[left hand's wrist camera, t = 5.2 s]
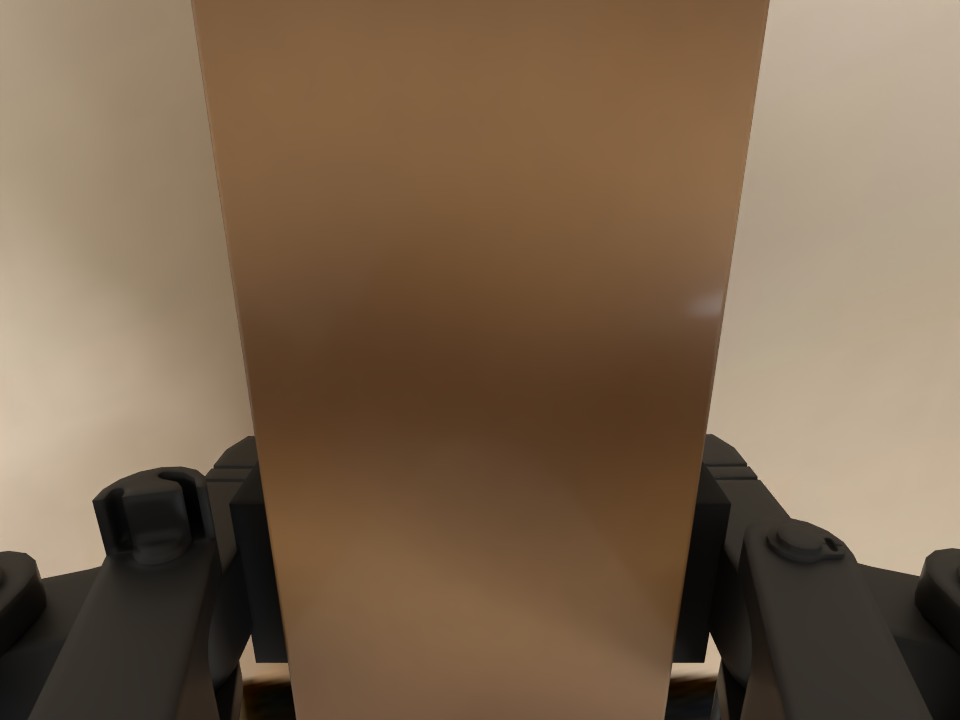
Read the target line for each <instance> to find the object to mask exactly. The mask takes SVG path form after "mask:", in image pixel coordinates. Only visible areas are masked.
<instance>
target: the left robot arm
mask: <svg viewBox="0 0 960 720" xmlns="http://www.w3.org/2000/svg"><path fill="white" fill-rule="evenodd" d="M92 502H93V506H94V509H95V513H96V517H97V521H98V525H99V528H100V532H101V536H102V540H103V544H104V547H105V551H106V555H107V556H106V558H105V560H104V562H103V564H102V566H100V567H96V568H93V569H89V570H84V571H79V572H74V573H69V574H64V575H59V576H54V577H49V578H44V579H41V577H40V573H39V570H38V567H37V564H36V561H35V560H34V559H33V558H32V557H30V556H29V555H28V554H26V553H20V552H13V551H5V552H0V720H239V717H240V708H241V700H242V692H243V681H242V674H241V668H240V663H239V659H240V657H241V655H242V653H243V650H244V648H245V646H246V644H247V642H248V639H249V637H250V635H251V636H252V642H253V647H254V653H255V659H256V663H288V658H287V651H286V645H285V638H284V631H283V624H282V617H281V610H280V604H279V597H278V590H277V583H276V576H275V570H274V563H273V556H272V549H271V542H270V535H269V529H268V522H267V515H266V508H265V501H264V494H263V488H262V481H261V474H260V467H259V460H258V454H257V447H256V440H255V436H248V437H246V438H245V439H243V440H241V441H240V442H238V443H236V444H235V445H233V446H232V447H230V448H228V449H227V450H226V451H225V452H224V453H223V455H222V456H221V457H220V458H219V460H218V461H217V462H216V463H215V465H214V469H211V470H210V471H209V472H208V474H207V475H206V476H204V475H202V474H201V473H200V472H199V471H197V470H195V469H190V468H185V467H161V468H156V469H151V470H146V471H141V472H138V473H136V474H133V475H130V476H127V477H125V478H122V479H120V480H118V481H116V482H115V483H113V484H111V485H110V486H108V487H106V488H105V489H103V490H102V491H101V492H100V493H99V494H98V495H97V496H96V497H95V498H94V499H93V501H92ZM709 632H710V633H711V636H712V638H713V640H714V642H715V644H716V646H717V649H718V651H719V653H720V655H721V663H720V668H719V674H718V679H717V685H716V690H715V696H714V701H713V706H712V712H711V719H710V720H719V719H720V715H721V720H960V549H954V548H951V549H943V550H936V551H934V552H933V553H931V554H930V555H929V556H927V557H926V559H925V562H924V566H923V569H922V572H921V575H920V576H915V575H910V574H905V573H900V572H895V571H890V570H885V569H880V568H875V567H871V566H867V565H863V564H859V563H857V561H856V559H855V557H854V555H853V553H852V552H851V551H850V550H849V548H848V547H847V546H846V545H845V543H844V542H843V541H841V540H840V539H838V538H837V537H835V536H834V535H833V534H831V533H830V532H828V531H827V530H824V529H822V528H820V527H817V526H815V525H813V524H810V523H808V522H804V521H800V520H796V519H791V518H790V517H789V515H788V514H787V513H786V512H785V510H784V509H783V508H782V507H781V505H780V504H779V503H778V502H777V500H776V499H775V498H774V497H773V495H772V494H771V493H770V492H769V490H768V489H767V488H766V487H765V485H764V484H763V483H762V482H761V480H758V479H757V475H756V474H755V473H754V472H753V470H752V469H751V468H750V467H747V463H746V462H745V460H744V459H743V458H742V457H741V455H740V454H739V453H738V452H737V450H736V449H735V448H734V447H732V446H731V445H729V444H727V443H726V442H724V441H723V440H721V439H719V438H718V437H716V436H714V435H713V434H706V437H705V444H704V451H703V457H702V464H701V471H700V478H699V485H698V491H697V498H696V505H695V512H694V519H693V525H692V532H691V539H690V546H689V553H688V559H687V566H686V573H685V580H684V587H683V594H682V600H681V607H680V614H679V621H678V628H677V634H676V641H675V648H674V655H673V662H672V663H704V661H705V655H706V650H707V644H708V638H709Z"/></svg>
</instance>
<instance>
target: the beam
mask: <svg viewBox="0 0 960 720" xmlns="http://www.w3.org/2000/svg"><path fill="white" fill-rule="evenodd" d="M769 1H770V0H191V3H192V10H193V17H194V24H195V31H196V37H197V44H198V51H199V58H200V65H201V71H202V78H203V85H204V92H205V99H206V106H207V112H208V119H209V126H210V133H211V140H212V147H213V153H214V160H215V167H216V174H217V181H218V187H219V194H220V201H221V208H222V215H223V222H224V228H225V235H226V242H227V249H228V256H229V263H230V269H231V276H232V283H233V290H234V297H235V303H236V310H237V317H238V324H239V331H240V338H241V344H242V351H243V358H244V365H245V372H246V378H247V385H248V392H249V399H250V406H251V413H252V419H253V426H254V433H255V440H256V447H257V454H258V460H259V467H260V474H261V481H262V488H263V494H264V501H265V508H266V515H267V522H268V529H269V535H270V542H271V549H272V556H273V563H274V570H275V576H276V583H277V590H278V597H279V604H280V610H281V617H282V624H283V631H284V638H285V645H286V651H287V658H288V665H289V672H290V679H291V686H292V692H293V699H294V706H295V713H296V720H664V716H665V709H666V702H667V696H668V689H669V682H670V675H671V668H672V662H673V655H674V648H675V641H676V634H677V628H678V621H679V614H680V607H681V600H682V594H683V587H684V580H685V573H686V566H687V559H688V553H689V546H690V539H691V532H692V525H693V519H694V512H695V505H696V498H697V491H698V485H699V478H700V471H701V464H702V457H703V451H704V444H705V437H706V430H707V423H708V416H709V410H710V403H711V396H712V389H713V382H714V376H715V369H716V362H717V355H718V348H719V342H720V335H721V328H722V321H723V314H724V308H725V301H726V294H727V287H728V280H729V274H730V267H731V260H732V253H733V246H734V239H735V233H736V226H737V219H738V212H739V205H740V199H741V192H742V185H743V178H744V171H745V165H746V158H747V151H748V144H749V137H750V131H751V124H752V117H753V110H754V103H755V96H756V90H757V83H758V76H759V69H760V62H761V56H762V49H763V42H764V35H765V28H766V22H767V15H768V8H769Z"/></svg>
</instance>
